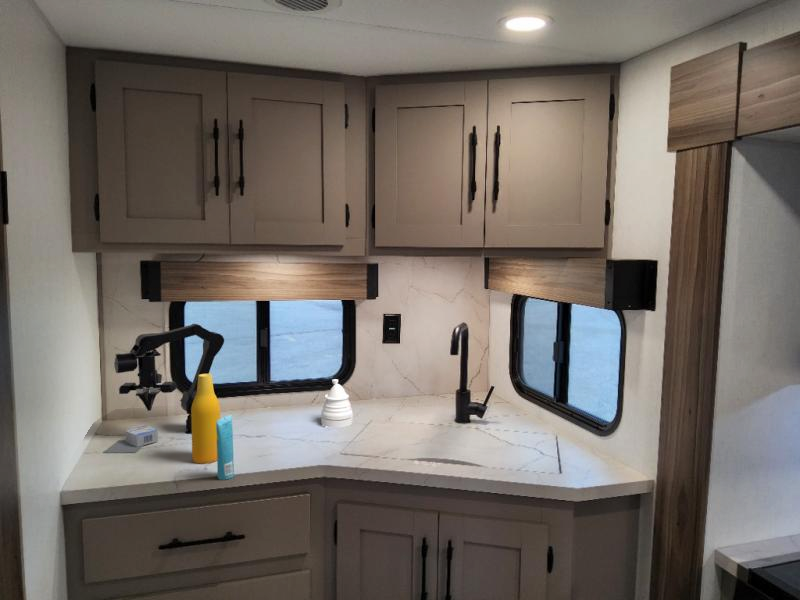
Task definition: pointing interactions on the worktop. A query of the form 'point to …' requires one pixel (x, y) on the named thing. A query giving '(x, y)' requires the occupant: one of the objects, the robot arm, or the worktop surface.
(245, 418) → the worktop surface
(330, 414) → the honey pot
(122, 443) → the rubber mat
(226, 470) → the tube
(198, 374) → the robot arm
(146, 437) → the medicine box
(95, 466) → the worktop surface
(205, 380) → the beer bottle
